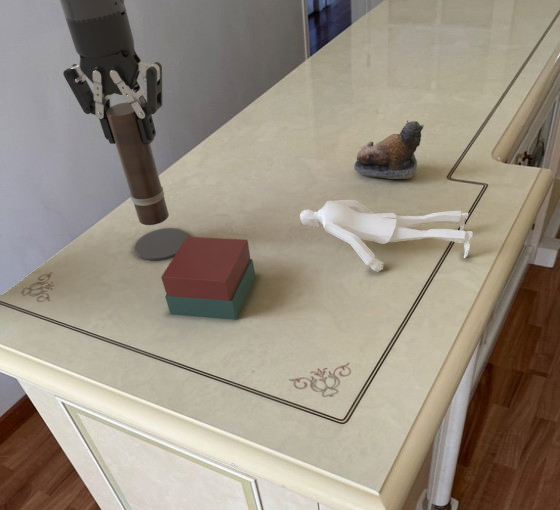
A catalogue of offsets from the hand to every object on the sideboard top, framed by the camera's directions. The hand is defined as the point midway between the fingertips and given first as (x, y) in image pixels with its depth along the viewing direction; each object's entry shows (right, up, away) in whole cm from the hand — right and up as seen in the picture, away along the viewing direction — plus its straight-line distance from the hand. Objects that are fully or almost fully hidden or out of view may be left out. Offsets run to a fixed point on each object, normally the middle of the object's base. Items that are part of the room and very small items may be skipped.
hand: (132, 141), depth 85 cm
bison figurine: (+41, +2, +22) cm, 46 cm away
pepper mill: (+2, -3, +10) cm, 11 cm away
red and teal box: (+12, -22, +1) cm, 25 cm away
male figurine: (+37, -14, +6) cm, 41 cm away
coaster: (+2, -12, +13) cm, 18 cm away
